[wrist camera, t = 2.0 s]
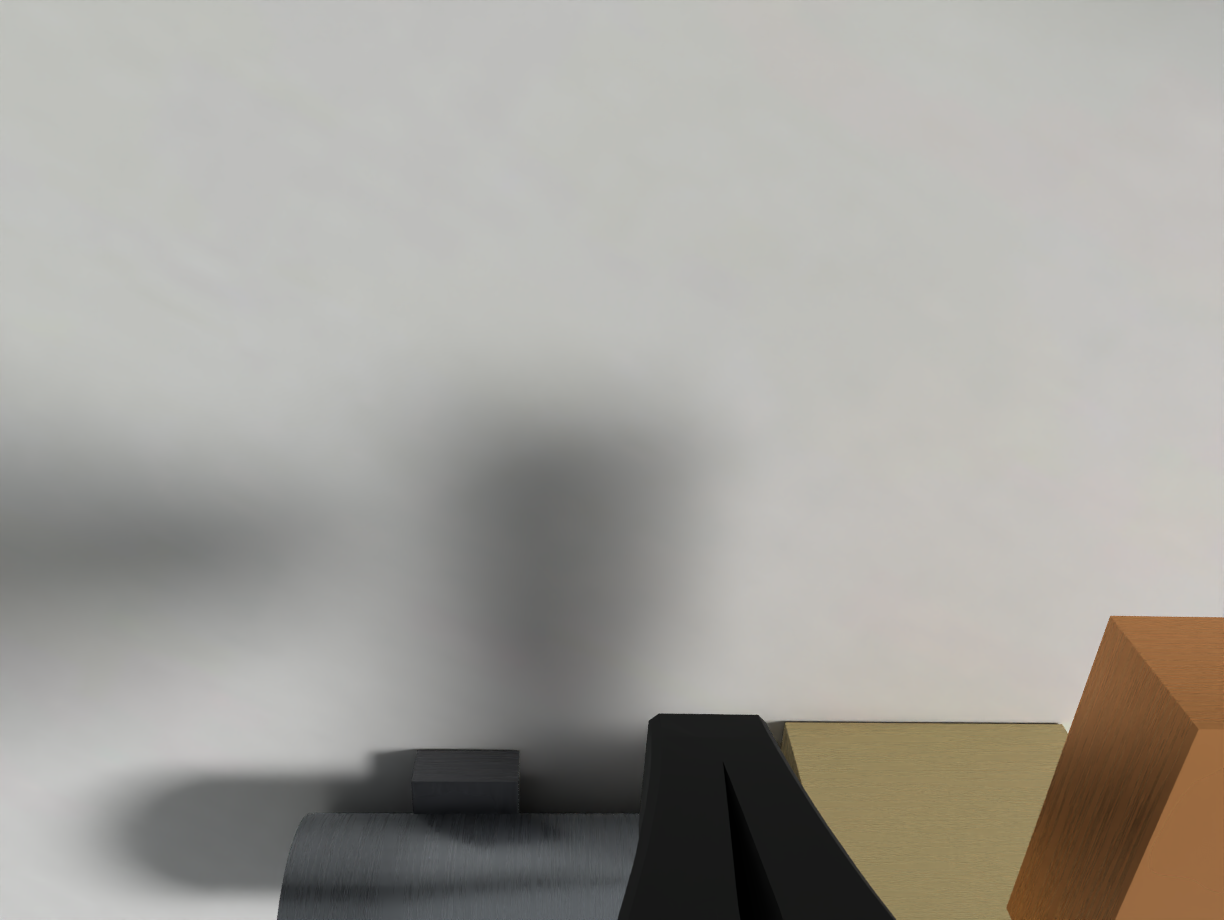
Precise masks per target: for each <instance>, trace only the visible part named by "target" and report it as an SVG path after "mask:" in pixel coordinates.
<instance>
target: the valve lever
mask: <svg viewBox="0 0 1224 920" xmlns="http://www.w3.org/2000/svg"><path fill="white" fill-rule="evenodd" d="M1006 908H1007V911H1008V913H1009V915H1010V917H1011V920H1224V618H1222V617H1150V616H1110V618H1109V621H1108V624H1107V627H1106V629H1105V632H1104V635H1103V638H1102V641H1101V643H1100V646H1099V649H1098V652H1097V655H1096V657H1095V660H1094V663H1093V666H1092V669H1091V672H1090V674H1089V677H1088V680H1087V683H1086V686H1085V688H1084V691H1083V694H1082V697H1081V700H1080V702H1079V705H1078V708H1077V711H1076V714H1075V716H1074V719H1073V722H1072V725H1071V728H1070V730H1069V733H1068V736H1067V739H1066V742H1065V744H1064V747H1063V750H1062V753H1061V756H1060V758H1059V761H1058V764H1057V767H1056V770H1055V773H1054V775H1053V778H1052V781H1051V784H1050V787H1049V789H1048V792H1047V795H1046V798H1045V801H1044V803H1043V806H1042V809H1041V812H1040V815H1039V817H1038V820H1037V823H1036V826H1035V829H1034V831H1033V834H1032V837H1031V840H1030V843H1029V845H1028V848H1027V851H1026V854H1025V857H1024V859H1023V862H1022V865H1021V868H1020V871H1019V874H1018V876H1017V879H1016V882H1015V885H1014V888H1013V890H1012V893H1011V896H1010V899H1009V902H1008V904H1007V907H1006Z"/></svg>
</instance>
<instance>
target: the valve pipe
mask: <svg viewBox="0 0 1224 920" xmlns="http://www.w3.org/2000/svg"><path fill="white" fill-rule="evenodd" d="M1067 736H1068V733H1067V732H1066V730H1065V728H1064V727H1063V725H1062V724H936V723H799V722H785V726H784V732H783V738H782V743H781V751H782V753H783V755H784V756H785V758H786V760H787V761H788V763H789V765H790V766H791V768H792V770H793V771H794V773H795V775H796V776H797V778H798V780H799V781H800V783H801V784H802V786H803V788H804V789H805V791H806V792H807V794H808V796H809V797H810V799H811V800H812V802H813V803H814V805H815V807H816V808H817V810H818V811H819V813H820V814H821V816H822V817H823V819H824V820H825V822H826V823H827V825H828V826H829V828H830V829H831V831H832V832H833V833H834V835H835V836H836V838H837V839H838V841H839V842H840V844H841V845H842V846H843V848H844V849H845V851H846V852H847V854H848V855H849V857H850V858H851V859H852V861H853V862H854V864H855V865H856V867H857V868H858V869H859V871H860V872H861V873H862V875H863V876H864V878H865V879H866V880H867V882H868V883H869V884H870V886H871V887H872V888H873V890H874V891H875V893H876V894H877V895H878V896H879V898H880V899H881V900H882V902H883V903H884V904H885V905H886V907H887V908H888V909H889V911H890V912H891V913H892V914H893V916H894V917H895V918H896V920H1011V917H1010V915H1009V913H1008V911H1007V908H1006V907H1007V904H1008V902H1009V899H1010V896H1011V893H1012V890H1013V888H1014V885H1015V882H1016V879H1017V876H1018V874H1019V871H1020V868H1021V865H1022V862H1023V859H1024V857H1025V854H1026V851H1027V848H1028V845H1029V843H1030V840H1031V837H1032V834H1033V831H1034V829H1035V826H1036V823H1037V820H1038V817H1039V815H1040V812H1041V809H1042V806H1043V803H1044V801H1045V798H1046V795H1047V792H1048V789H1049V787H1050V784H1051V781H1052V778H1053V775H1054V773H1055V770H1056V767H1057V764H1058V761H1059V758H1060V756H1061V753H1062V750H1063V747H1064V744H1065V742H1066V739H1067ZM412 796H413V811H414V813H309V814H307V815H306V816H305V817H304V818H303V820H302V821H301V823H300V825H299V827H298V829H297V832H296V834H295V837H294V840H293V843H292V846H291V849H290V853H289V857H288V860H287V865H286V869H285V873H284V878H283V883H282V889H281V895H280V901H279V908H278V916H277V920H617V919H618V915H619V912H620V908H621V905H622V901H623V898H624V894H625V891H626V887H627V884H628V880H629V877H630V873H631V870H632V866H633V862H634V858H635V854H636V850H637V845H638V840H639V816H640V814H546V813H519V751H427V750H417V754H416V759H415V765H414V770H413V776H412Z"/></svg>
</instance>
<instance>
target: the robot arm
mask: <svg viewBox="0 0 1224 920" xmlns="http://www.w3.org/2000/svg"><path fill="white" fill-rule="evenodd" d="M617 920H896V918H895V917H894V916H893V914H892V913H891V912H890V911H889V909H888V908H887V907H886V905H885V904H884V903H883V902H882V900H881V899H880V898H879V896H878V895H877V894H876V893H875V891H874V890H873V888H872V887H871V886H870V884H869V883H868V882H867V880H866V879H865V878H864V876H863V875H862V873H861V872H860V871H859V869H858V868H857V867H856V865H855V864H854V862H853V861H852V859H851V858H850V857H849V855H848V854H847V852H846V851H845V849H844V848H843V846H842V845H841V844H840V842H839V841H838V839H837V838H836V836H835V835H834V833H833V832H832V831H831V829H830V828H829V826H828V825H827V823H826V822H825V820H824V819H823V817H822V816H821V814H820V813H819V811H818V810H817V808H816V807H815V805H814V803H813V802H812V800H811V799H810V797H809V796H808V794H807V792H806V791H805V789H804V788H803V786H802V784H801V783H800V781H799V780H798V778H797V776H796V775H795V773H794V771H793V770H792V768H791V766H790V765H789V763H788V761H787V760H786V758H785V756H784V755H783V753H782V751H781V749H780V748H779V746H778V744H777V742H776V741H775V739H774V737H773V735H772V733H771V732H770V730H769V728H768V726H767V724H766V722H765V721H764V720H763V719H762V718H761V717H760V716H759V715H724V714H658V715H656V716H655V717H653V718H652V719H650V720H649V724H648V734H647V744H646V754H645V765H644V775H643V785H642V795H641V805H640V816H639V840H638V845H637V850H636V854H635V858H634V862H633V866H632V870H631V873H630V877H629V880H628V884H627V887H626V891H625V894H624V898H623V901H622V905H621V908H620V912H619V915H618V919H617Z"/></svg>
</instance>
